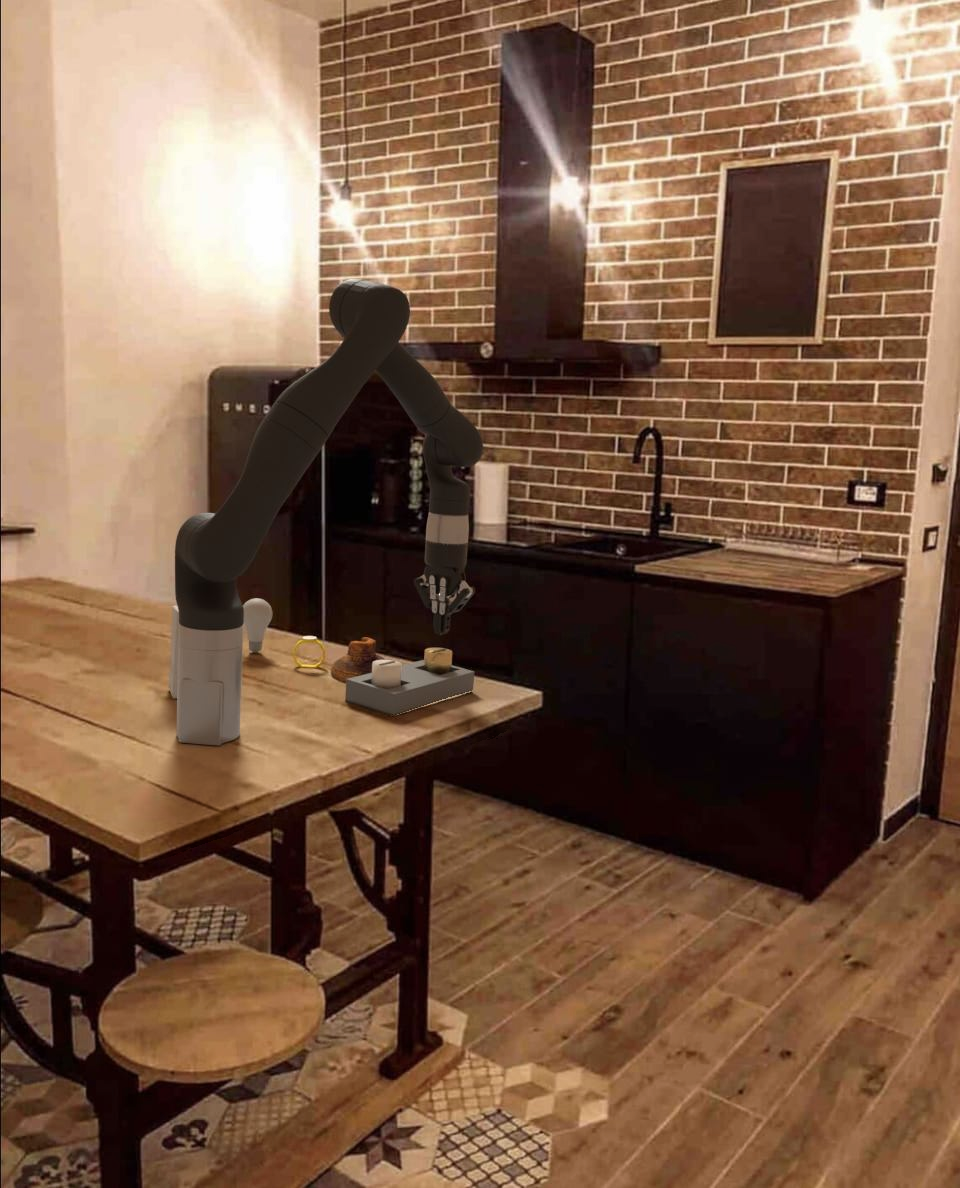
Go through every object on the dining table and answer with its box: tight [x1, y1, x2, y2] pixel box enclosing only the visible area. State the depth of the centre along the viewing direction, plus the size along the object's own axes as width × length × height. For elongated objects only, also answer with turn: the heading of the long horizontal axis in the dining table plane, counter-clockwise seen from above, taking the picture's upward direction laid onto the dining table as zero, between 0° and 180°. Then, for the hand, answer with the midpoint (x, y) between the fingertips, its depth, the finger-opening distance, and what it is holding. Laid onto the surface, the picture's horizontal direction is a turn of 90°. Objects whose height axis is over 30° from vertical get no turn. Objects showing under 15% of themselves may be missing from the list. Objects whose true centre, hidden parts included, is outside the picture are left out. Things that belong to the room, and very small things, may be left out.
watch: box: [292, 635, 326, 669], centre depth 192 cm, size 6×3×6 cm, turn 96°
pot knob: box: [371, 659, 403, 689], centre depth 172 cm, size 5×5×4 cm
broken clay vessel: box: [330, 636, 386, 683], centre depth 190 cm, size 12×12×7 cm
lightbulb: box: [242, 597, 274, 654], centre depth 199 cm, size 6×6×11 cm
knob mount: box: [344, 659, 475, 717], centre depth 179 cm, size 22×11×4 cm, turn 143°
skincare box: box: [168, 605, 179, 699], centre depth 170 cm, size 8×6×15 cm
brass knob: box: [423, 647, 453, 675], centre depth 184 cm, size 5×5×4 cm
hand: (440, 633), depth 183 cm, fingers closed
